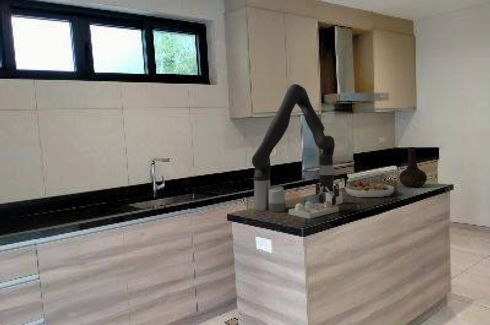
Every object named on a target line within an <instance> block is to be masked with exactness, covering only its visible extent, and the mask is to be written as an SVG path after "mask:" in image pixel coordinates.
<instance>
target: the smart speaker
mask: <svg viewBox="0 0 490 325" xmlns="http://www.w3.org/2000/svg"><path fill="white" fill-rule="evenodd" d="M286 206H287V205H286V198H285V189H284V187H283V186H281V185H277V186H273V187H270V190H269V210H268V211H270V212H271V213H281V212H284V211H286Z"/></svg>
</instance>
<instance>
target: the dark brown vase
mask: <svg viewBox="0 0 490 325" xmlns="http://www.w3.org/2000/svg"><path fill="white" fill-rule="evenodd" d="M406 151H407V152H408V157H407V158H408V159H407V167H406V169H404V170H401V172H400V174H399V176H398V180H399V181H400V183H401V184H402V186H404V187H406V186H408V187H407V188H420V187H423V186H424V185H425V184H426V182H427V179H428V176H427V173H426V171H424V170H422V169H420V168H419V167H418V163H417V158H416V151H417V149H416V147H414V146H410V147H408V149H407V150H406Z"/></svg>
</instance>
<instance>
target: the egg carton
mask: <svg viewBox="0 0 490 325" xmlns="http://www.w3.org/2000/svg"><path fill="white" fill-rule="evenodd" d="M312 204H313V208H311V209H307V208H305V205H303V207H304V210H302V211H296V210H295V207H294V208H289V209H288V215H291V216H295V217H301V218H305V219H313V218H317V217H321V216H324V215H325V216H326V215H330V214H332V213H337V212H339V211H340V210H339V206H337V205H332V208H324V203H320V202H319V203H318V202H317V203H312Z"/></svg>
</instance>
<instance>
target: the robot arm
mask: <svg viewBox="0 0 490 325" xmlns="http://www.w3.org/2000/svg"><path fill="white" fill-rule="evenodd" d="M296 105H297V106H298V107H299V109H300V111H301V112H302V114H303V116H304V120H305V123H306V125H307V127H308V128H309V130H310V131H311V133H312V138H313V140H314V143H315V145H316V147H317V148H318V149H320V150H322V153H321V154H319V155H318V156H319V157H318V161H319V162H318V164H319V165H318V166H319V168H318V174H319V176H318V178H319V183H315V195H318V201H319V203H320V204H324V196H323V195H324V194H326V193H329V194H330V195H331V197H332V206H336V205H335V204H336V197H338V196H339V191H340V185H339V186H338V185H335V186H334V185H333V183H335V177H334V176H335V174H334V173H335V172H334V169H335V168H334V162H333V161H334V159H333V158H334V153H335V147H336V146H335V145H336V144H335V139H334V137H333V136H331V135H326V134H325V132H324V131H325V126H324V124H323V122H322V121H321V119H320V117H319V116H318V114H317V113H316V111H315V109H314V107H313V106H312V105H313V104H312V103H311V100H310V97H309V95H308V92H307V90H306V88H305V87H303V86H302V85H299V84H296V83H294V84H292V85H290V86H288V88H287V90H286V93H285V95H284V97H283V100H282V102H281V104H280V106H279V108H278V110H277V112H276V113H275V115H274V117H273V119H272V121H271V123H269V124H270V125H269V127H268V129H267V131H266V133H265V135H264V136H263V139H262V142H261V143H260V145H259V147H258V148H257V150H256V151H255V153H254V154H253V155H252V157H251V165H252V166H253V168H254V175H253V189H254V193H253V203H254V204H253V206H254V210H256V211H259V212H266V211H270V210H269V190H270V189H271V158H270V157H271V154H272V152H273V150H274V149H275V147H276V146H277V145H278V144H279V143H280V141H281V140H282V138H283V137H284V135H285V133H286V131H288V130H287V129H288V127H289V125H290V122H291V121H290V120H291V114H292V112H293V109H294V108H295V106H296ZM333 189H334V190H333ZM331 191H332V192H331Z"/></svg>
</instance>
